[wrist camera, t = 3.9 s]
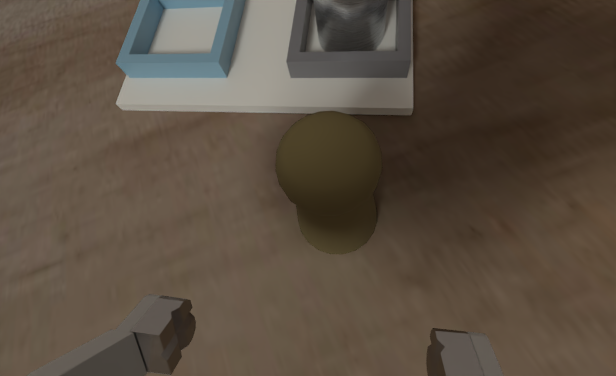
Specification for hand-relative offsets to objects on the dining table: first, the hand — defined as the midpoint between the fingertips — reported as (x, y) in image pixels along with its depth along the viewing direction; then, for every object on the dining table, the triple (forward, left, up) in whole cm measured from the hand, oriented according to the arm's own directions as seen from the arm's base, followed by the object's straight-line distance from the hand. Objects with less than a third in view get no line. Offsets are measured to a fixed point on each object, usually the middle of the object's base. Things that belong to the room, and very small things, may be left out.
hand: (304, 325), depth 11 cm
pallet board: (+8, -24, -12) cm, 28 cm away
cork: (0, -7, -12) cm, 14 cm away
